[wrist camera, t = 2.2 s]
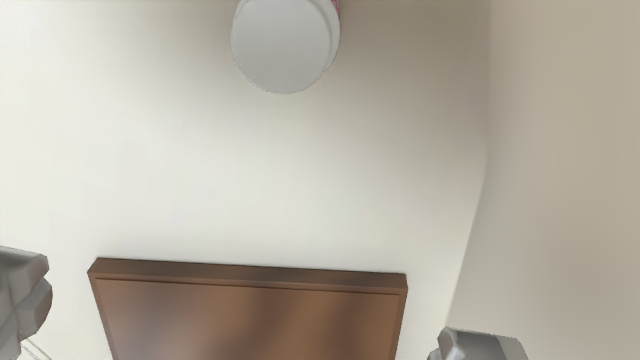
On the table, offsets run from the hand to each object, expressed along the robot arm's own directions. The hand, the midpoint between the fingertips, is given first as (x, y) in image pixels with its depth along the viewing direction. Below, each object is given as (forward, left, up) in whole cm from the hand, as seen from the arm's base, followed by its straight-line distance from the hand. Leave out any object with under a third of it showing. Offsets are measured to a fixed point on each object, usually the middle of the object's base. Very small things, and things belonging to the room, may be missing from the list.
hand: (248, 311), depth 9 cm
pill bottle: (+1, -3, -19) cm, 20 cm away
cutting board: (+4, +23, -19) cm, 30 cm away
